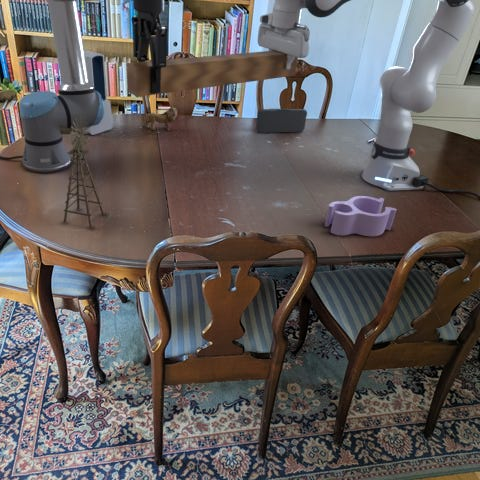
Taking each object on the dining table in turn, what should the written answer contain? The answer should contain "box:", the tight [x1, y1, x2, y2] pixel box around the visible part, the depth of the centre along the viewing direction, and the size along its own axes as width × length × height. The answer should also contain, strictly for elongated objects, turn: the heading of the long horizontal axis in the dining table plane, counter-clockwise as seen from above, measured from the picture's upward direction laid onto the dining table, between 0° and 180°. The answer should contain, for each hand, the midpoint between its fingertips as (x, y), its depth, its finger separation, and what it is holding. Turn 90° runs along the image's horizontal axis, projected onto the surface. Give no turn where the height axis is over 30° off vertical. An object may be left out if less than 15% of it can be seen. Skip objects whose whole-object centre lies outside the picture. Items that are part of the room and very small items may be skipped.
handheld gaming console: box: [255, 108, 308, 134], centre depth 206 cm, size 23×3×10 cm, turn 108°
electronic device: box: [80, 49, 114, 136], centre depth 182 cm, size 12×8×30 cm, turn 148°
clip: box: [324, 195, 398, 237], centre depth 141 cm, size 20×12×7 cm, turn 109°
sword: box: [367, 137, 376, 144], centre depth 215 cm, size 31×3×1 cm, turn 126°
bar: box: [126, 50, 299, 98], centre depth 139 cm, size 60×5×7 cm, turn 131°
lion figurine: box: [142, 107, 178, 132], centre depth 195 cm, size 15×5×9 cm, turn 110°
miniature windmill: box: [59, 115, 105, 229], centre depth 124 cm, size 9×8×30 cm
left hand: (149, 89), depth 126 cm, fingers closed on bar, 5 cm apart
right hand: (279, 66), depth 154 cm, fingers closed on bar, 5 cm apart
